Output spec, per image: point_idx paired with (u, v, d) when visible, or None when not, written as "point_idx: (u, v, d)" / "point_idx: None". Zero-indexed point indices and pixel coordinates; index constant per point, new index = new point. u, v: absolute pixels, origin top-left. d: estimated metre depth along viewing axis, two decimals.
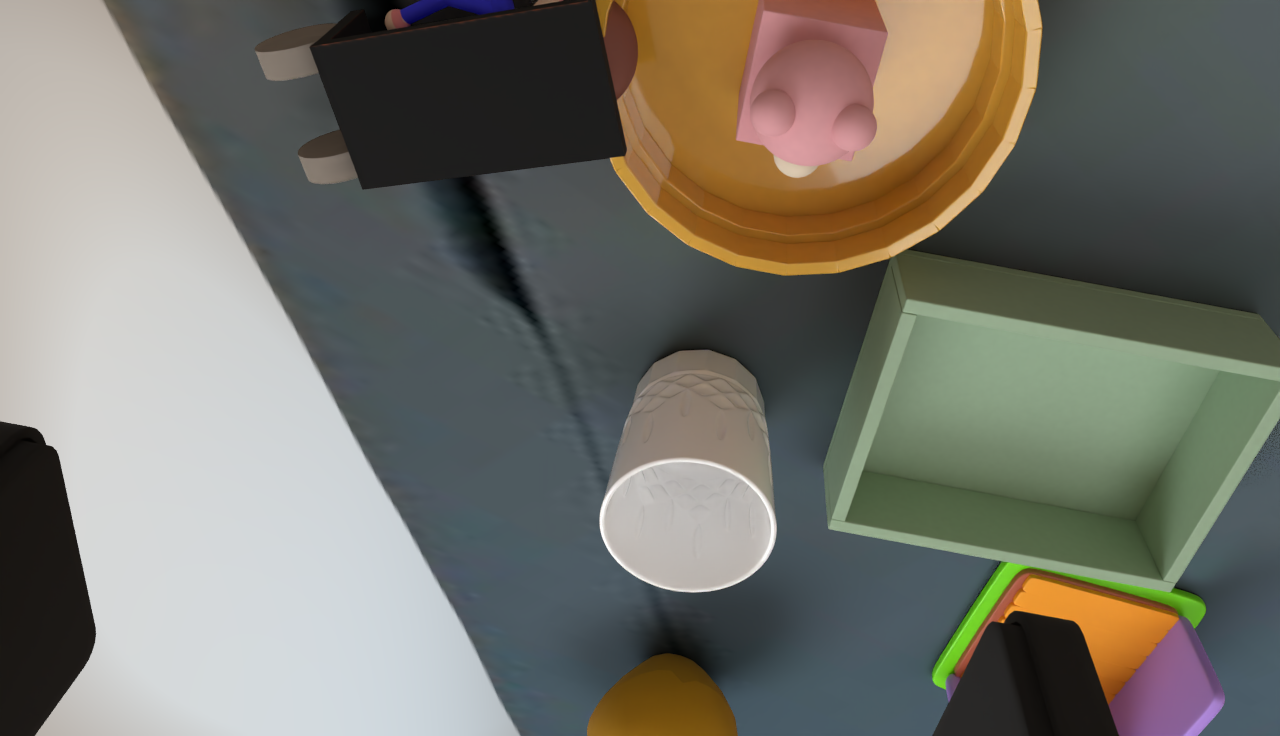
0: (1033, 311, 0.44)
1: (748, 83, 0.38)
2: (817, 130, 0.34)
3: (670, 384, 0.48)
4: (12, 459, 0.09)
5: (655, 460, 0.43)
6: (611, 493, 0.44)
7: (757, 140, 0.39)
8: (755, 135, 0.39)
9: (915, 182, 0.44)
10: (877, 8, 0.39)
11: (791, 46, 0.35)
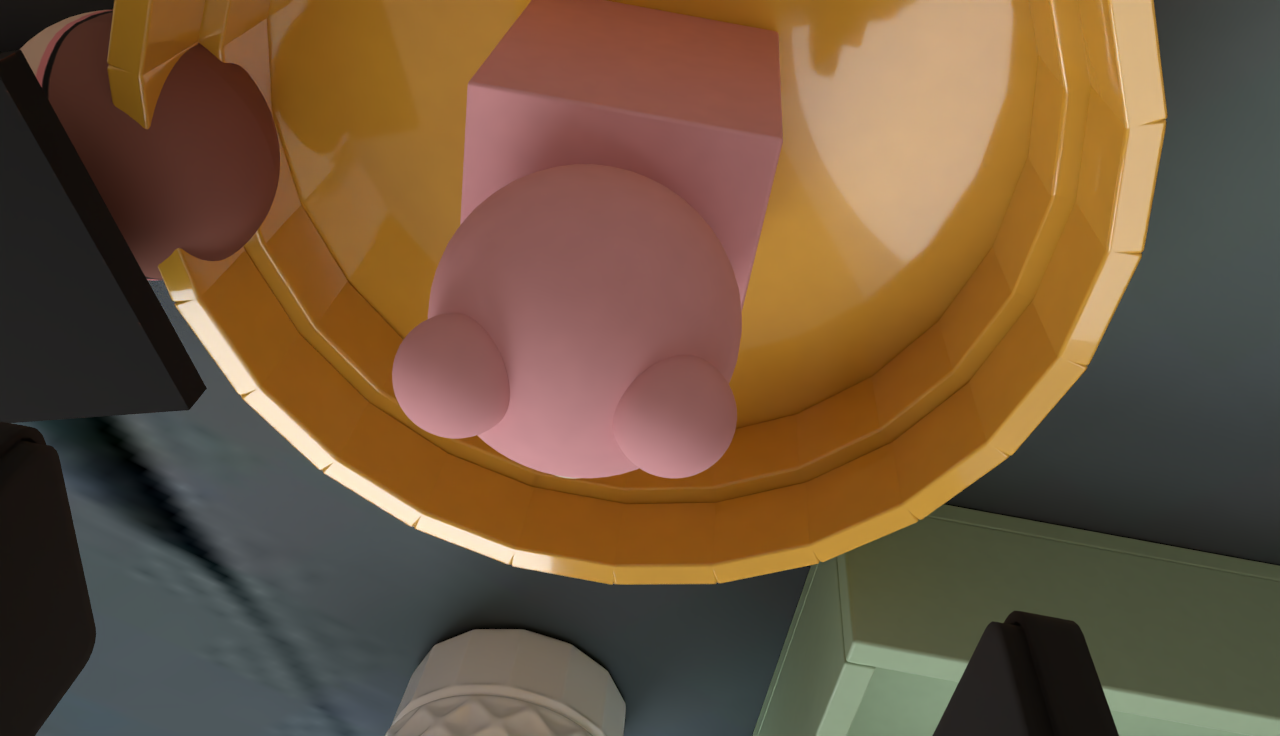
0: (1108, 651, 0.22)
1: None
2: (572, 427, 0.13)
3: (435, 723, 0.27)
4: (12, 459, 0.09)
5: None
6: None
7: None
8: None
9: (874, 391, 0.22)
10: (776, 62, 0.17)
11: (516, 188, 0.13)
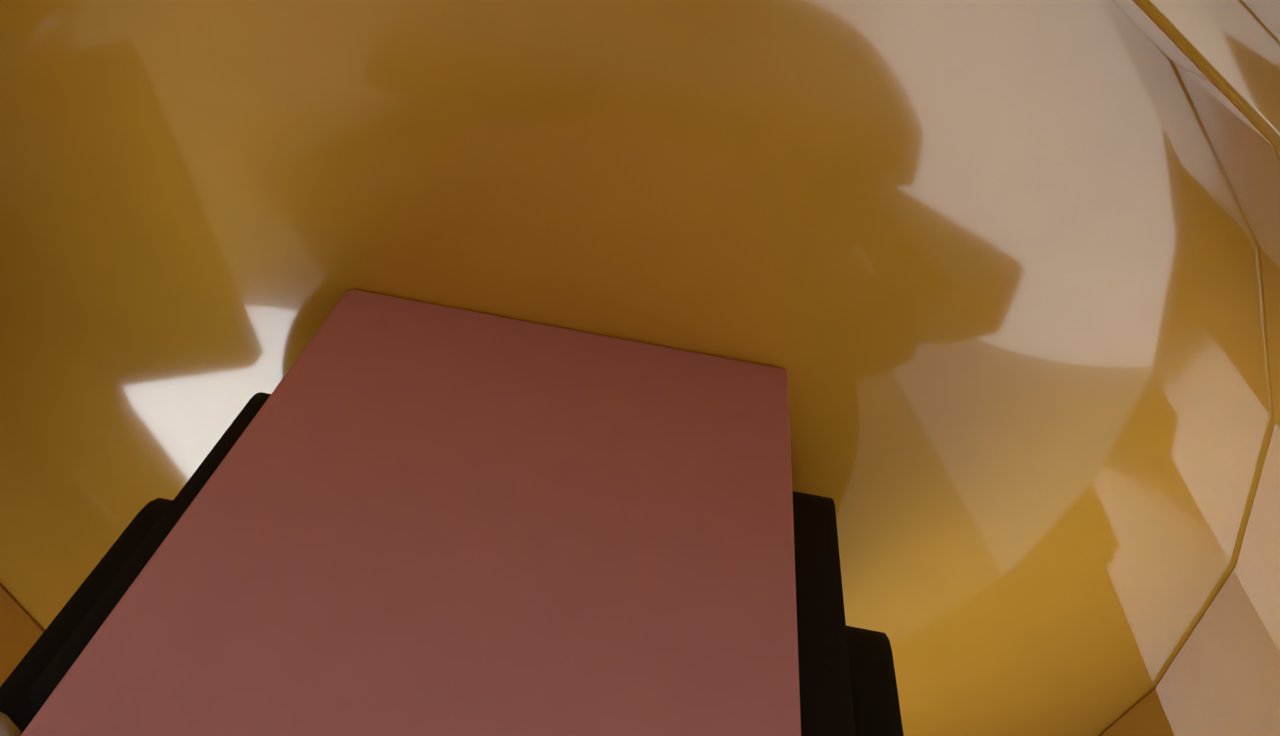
0: None
1: None
2: None
3: None
4: None
5: None
6: None
7: None
8: None
9: None
10: (786, 490, 0.09)
11: None
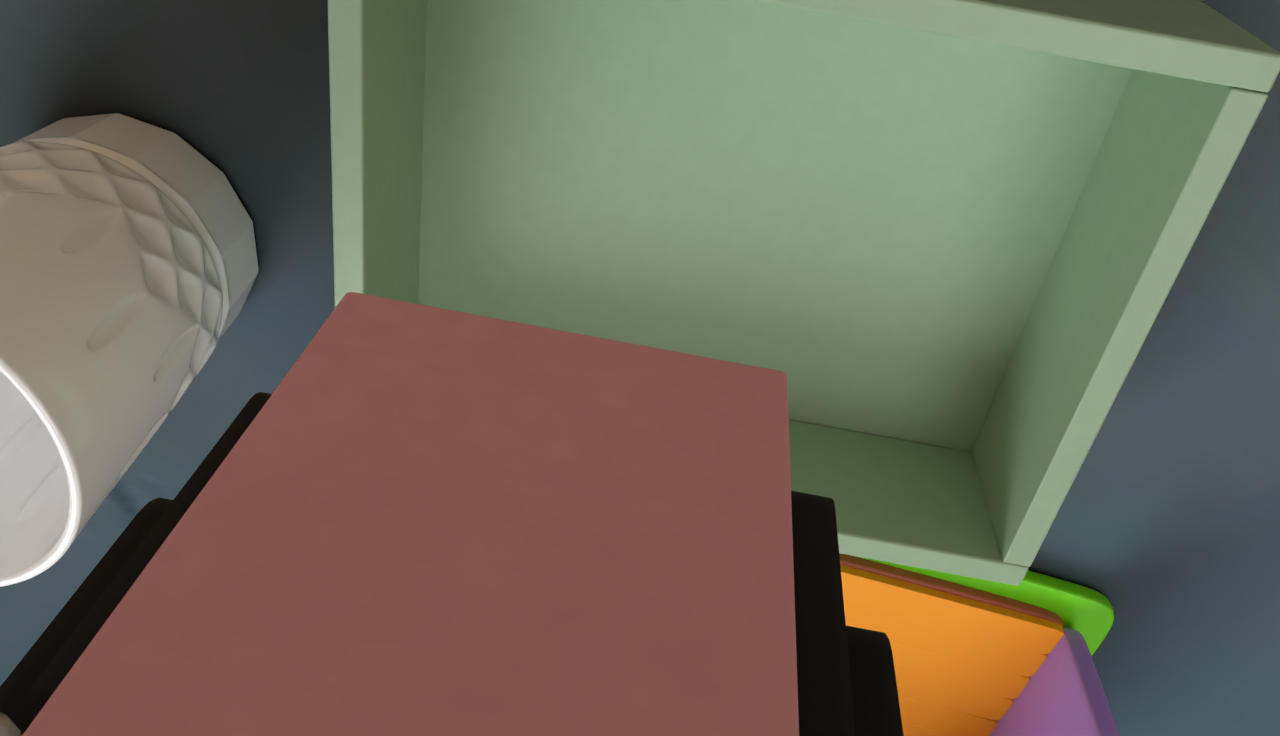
0: None
1: None
2: None
3: None
4: None
5: None
6: None
7: None
8: None
9: None
10: (785, 494, 0.09)
11: None
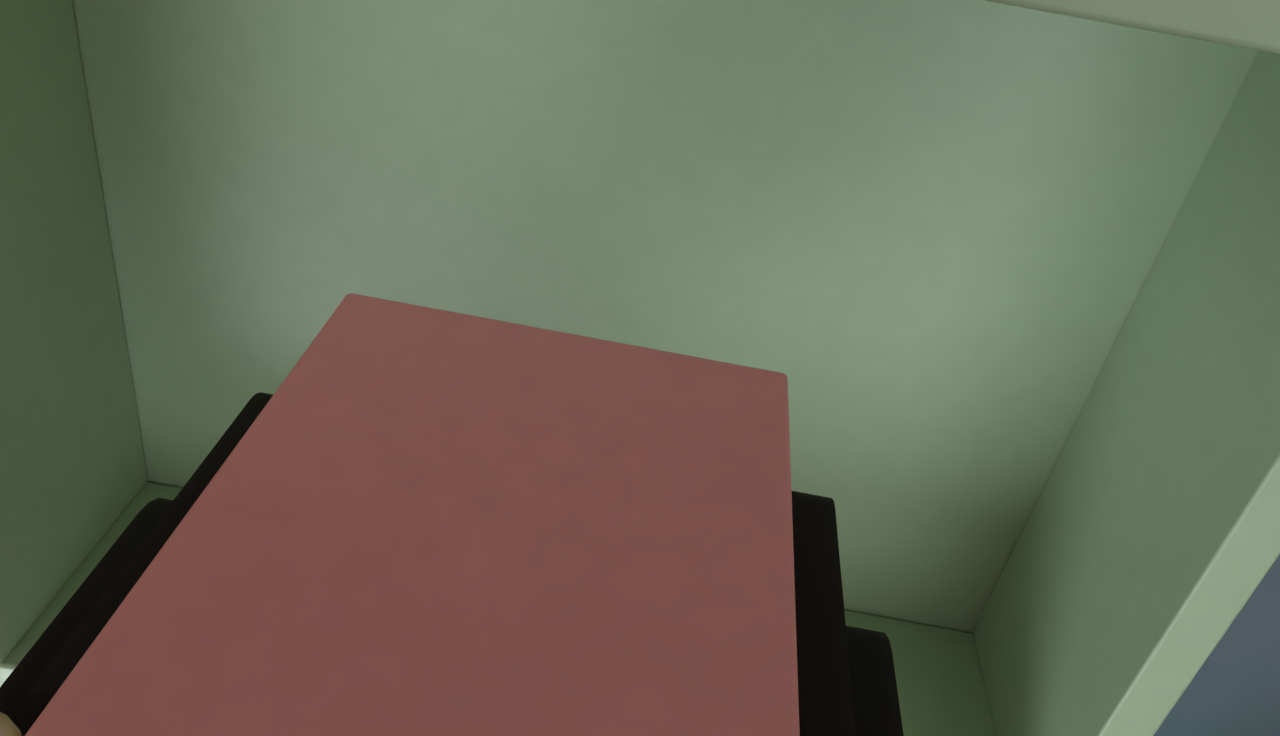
0: None
1: None
2: None
3: None
4: None
5: None
6: None
7: None
8: None
9: None
10: (786, 496, 0.09)
11: None
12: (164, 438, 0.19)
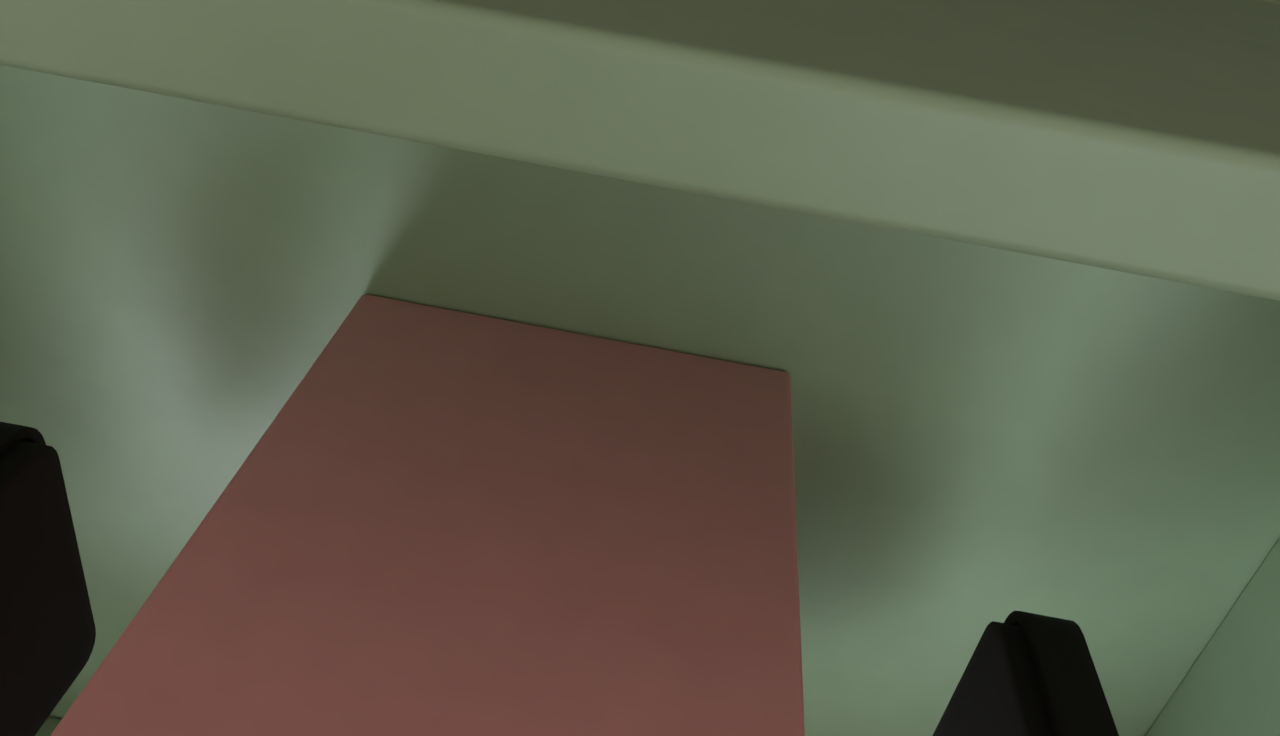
0: None
1: None
2: None
3: None
4: (12, 459, 0.09)
5: None
6: None
7: None
8: None
9: None
10: (789, 490, 0.09)
11: None
12: None
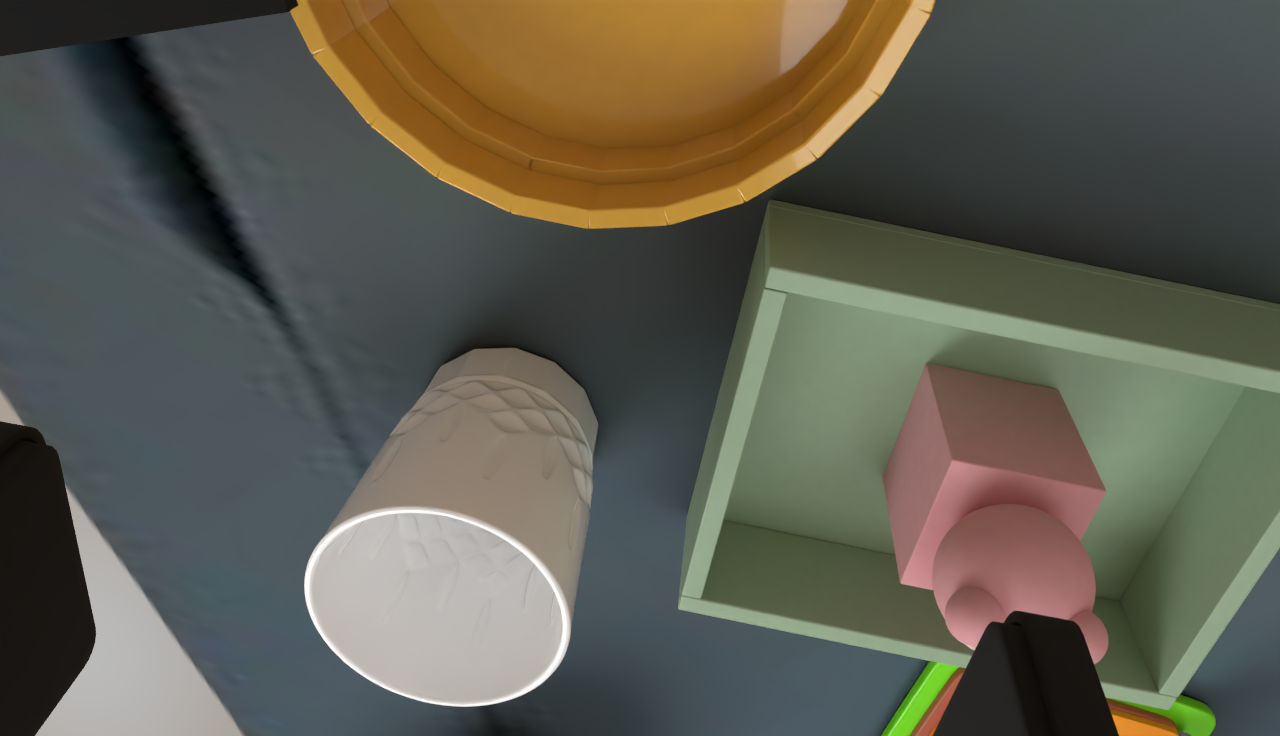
0: (966, 291, 0.29)
1: (923, 529, 0.31)
2: None
3: (443, 395, 0.33)
4: (12, 459, 0.09)
5: (374, 509, 0.27)
6: (315, 558, 0.29)
7: (927, 585, 0.32)
8: (925, 580, 0.32)
9: (791, 94, 0.29)
10: (1073, 421, 0.32)
11: (995, 524, 0.28)
12: None
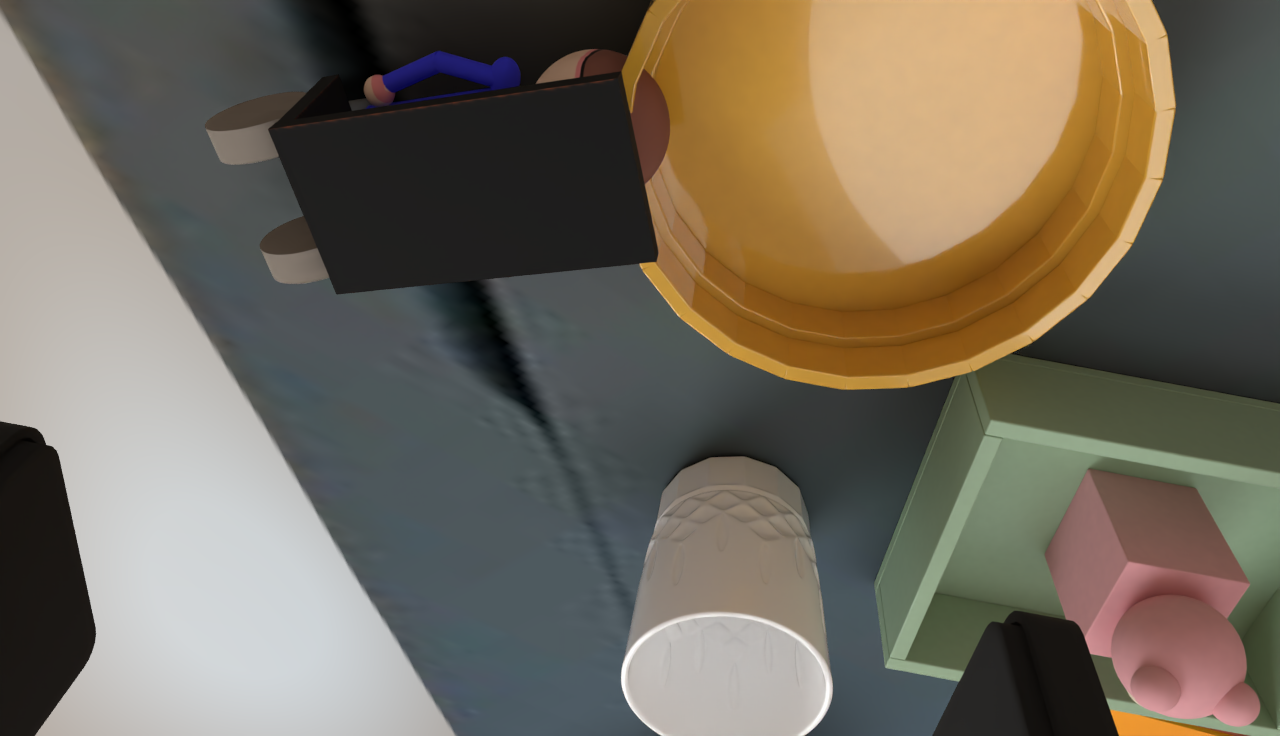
0: (1140, 431, 0.37)
1: (1099, 611, 0.39)
2: (1200, 708, 0.35)
3: (702, 504, 0.41)
4: (12, 459, 0.09)
5: (689, 613, 0.36)
6: (635, 648, 0.37)
7: (1098, 653, 0.40)
8: (1097, 649, 0.40)
9: (998, 276, 0.37)
10: (1213, 519, 0.40)
11: (1168, 615, 0.36)
12: None
